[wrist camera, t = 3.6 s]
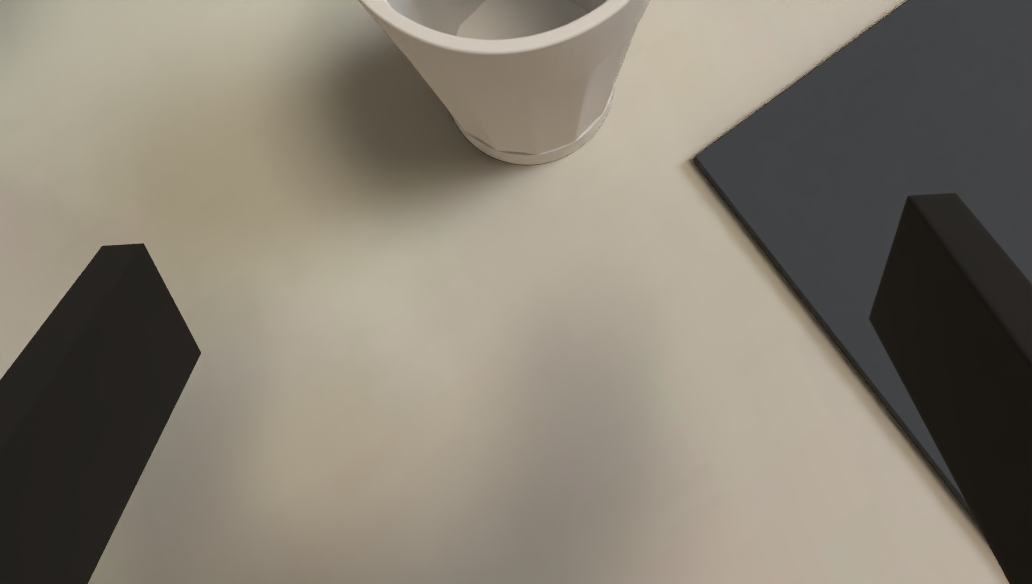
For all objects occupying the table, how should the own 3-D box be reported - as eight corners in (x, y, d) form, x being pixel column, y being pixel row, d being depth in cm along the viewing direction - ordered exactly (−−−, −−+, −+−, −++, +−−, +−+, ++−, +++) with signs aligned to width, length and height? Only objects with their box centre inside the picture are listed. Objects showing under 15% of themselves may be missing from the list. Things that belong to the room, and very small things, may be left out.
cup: (607, -45, 27) (638, -358, 15) (660, 156, 26) (738, -5, 14) (403, 10, 27) (275, -252, 15) (450, 209, 27) (354, 96, 15)
